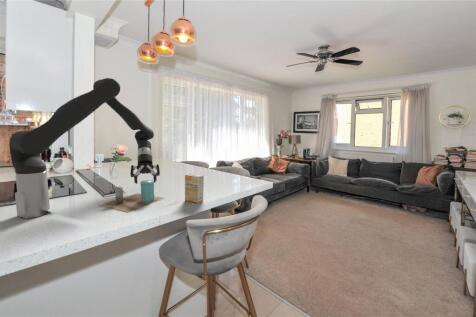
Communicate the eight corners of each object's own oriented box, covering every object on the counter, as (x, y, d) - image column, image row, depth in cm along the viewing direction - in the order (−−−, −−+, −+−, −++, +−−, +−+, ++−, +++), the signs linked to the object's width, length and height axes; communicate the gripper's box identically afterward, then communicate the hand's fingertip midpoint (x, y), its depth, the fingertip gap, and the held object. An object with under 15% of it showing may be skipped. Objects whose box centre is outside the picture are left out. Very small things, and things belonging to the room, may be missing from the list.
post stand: (127, 216, 94) (126, 195, 93) (97, 208, 101) (96, 189, 100) (165, 201, 114) (164, 184, 113) (137, 195, 121) (137, 179, 120)
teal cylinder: (147, 203, 106) (147, 183, 105) (138, 201, 108) (137, 182, 107) (157, 199, 111) (156, 180, 110) (147, 197, 114) (147, 179, 113)
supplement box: (184, 200, 115) (184, 174, 114) (190, 198, 120) (190, 173, 118) (197, 203, 111) (197, 176, 110) (203, 200, 116) (203, 174, 114)
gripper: (130, 153, 123) (129, 179, 114) (158, 152, 128) (160, 177, 119) (131, 161, 128) (130, 187, 119) (158, 161, 134) (160, 185, 125)
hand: (145, 182), depth 119 cm, fingers open, 8 cm apart
